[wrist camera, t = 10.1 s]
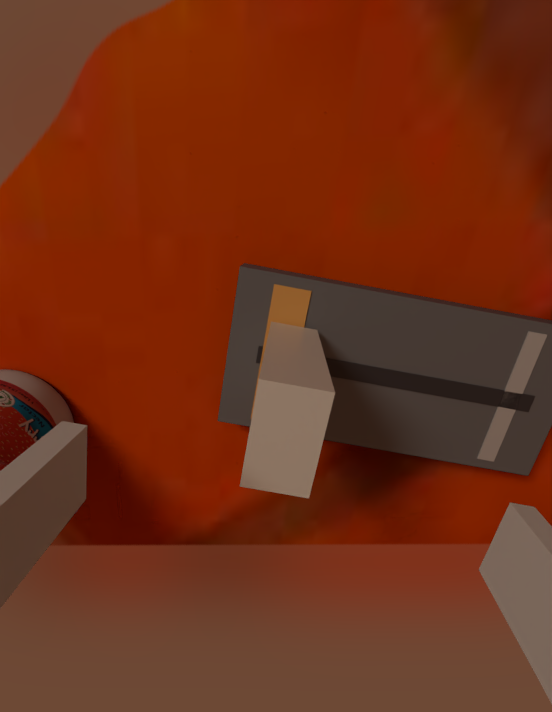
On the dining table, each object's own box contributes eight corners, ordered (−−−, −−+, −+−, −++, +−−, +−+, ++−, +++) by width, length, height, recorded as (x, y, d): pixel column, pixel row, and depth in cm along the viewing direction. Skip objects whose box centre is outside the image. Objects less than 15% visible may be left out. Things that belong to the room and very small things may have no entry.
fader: (317, 329, 24) (335, 392, 14) (301, 399, 25) (308, 498, 16) (271, 321, 24) (258, 379, 14) (258, 392, 25) (239, 486, 16)
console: (567, 323, 26) (596, 332, 24) (509, 456, 30) (529, 476, 27) (244, 263, 26) (239, 266, 23) (223, 405, 29) (217, 421, 27)
